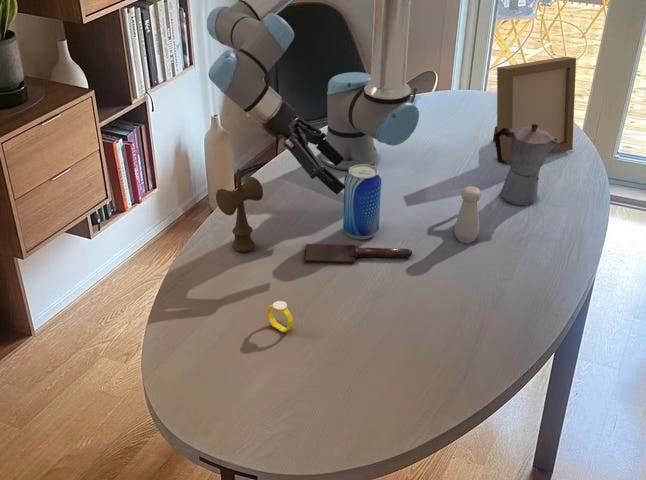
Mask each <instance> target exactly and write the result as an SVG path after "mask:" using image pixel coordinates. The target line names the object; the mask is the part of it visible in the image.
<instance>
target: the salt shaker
mask: <svg viewBox="0 0 646 480" xmlns="http://www.w3.org/2000/svg"><path fill="white" fill-rule="evenodd" d="M481 196H482V192H481V190H480V189H479V188H478V187H476V186H466V187H464V188H463V189H462V191H461V199H462V202H461V206H460V208H459V212H458V215H457V218H456V221H455V224H454V228H453V231H454V234H455V237H456V239H457V240H458V242H460V243H463V244H464V243H465V244H470V243H473V242H475V240H476V239H477V237H478V236H479V233H480V221H479V208H478V202H479V201H480V200H481Z"/></svg>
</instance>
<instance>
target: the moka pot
mask: <svg viewBox="0 0 646 480" xmlns="http://www.w3.org/2000/svg"><path fill="white" fill-rule="evenodd" d="M501 135H505V136H507V137H509V138H512V146H511V158H510V159H511V162H509V164H510V167H509V168H508V171H507V175H506V177H505V180H504V182H503V185H502V188H501V191H500V196H501V198H502V199H504V201H506V202H507V203H510V204H512V205H516V206H517V205H518V206H529V205H532V204H533V203H535V201H536V200H537V195H538V187H539V186H538V185H539V180H540V177H539V176H540V170H541V168H542V166H544V163H545V161H546V158H547V156H548V154H549V152H550V151H551V150H552V149H553V147H554V146H555V145H556V144H557V143H559V141H558V139H556V138H555V137H553V136H550V134H549V133H548V132H547V131H544V130H542V129H539V128H538V125H536V124H532V127H520V128H518V129H517V130H514V129H507V128H503V129H501V130H500V131H498V133H496V134H495V135H494V134H493V136H494V141H493V142H494V145H495V146H494V147H495V151H496V159H497V158H498V160H497V162H498V163H500V164H502V165H507V164H508V163H507V162H508V161H507V160H503V159H502V155H501V146H500V139H499V137H500V136H501ZM549 155H550V154H549Z"/></svg>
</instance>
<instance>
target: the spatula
mask: <svg viewBox="0 0 646 480" xmlns="http://www.w3.org/2000/svg"><path fill="white" fill-rule="evenodd" d="M412 256H413V251H412V250H411V249H410V248H399V247H398V248H396V247H395V248H394V247H393V248H392V247H356V245H355V244H330V243H329V244H328V243H327V244H326V243H324V244H323V243H306V250H305V258H304V263H305V264H306V263H307V264H342V265H343V264H345V265H346V264H349V265H351V264H352V265H354V264H355V261H356V260H358V258H359V257H364V258H365V257H367V258H368V257H369V258H406V259H407V258H411V257H412Z"/></svg>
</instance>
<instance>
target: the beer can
mask: <svg viewBox="0 0 646 480" xmlns="http://www.w3.org/2000/svg"><path fill="white" fill-rule="evenodd" d="M343 184H344V185H345V188H344V189H343V215H342V216H343V220H342V222H343V223H342V228H343V230H344V232H345V233H346V234H347V236H348V237H350V238H352V239H355V240H368V239H370V238H373V237H374V236H375V235H376V233H377V232H378V231H379V230H380V216H381V197H382V196H381V194H382V193H381V192H382V178H381V176H380V175H379V171H378V168H376V167H375V166H373V165H366V164H359V165H354V166H352V167H350V168H349V170H348V172H347V173H346V175H345V176H344V179H343Z"/></svg>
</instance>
